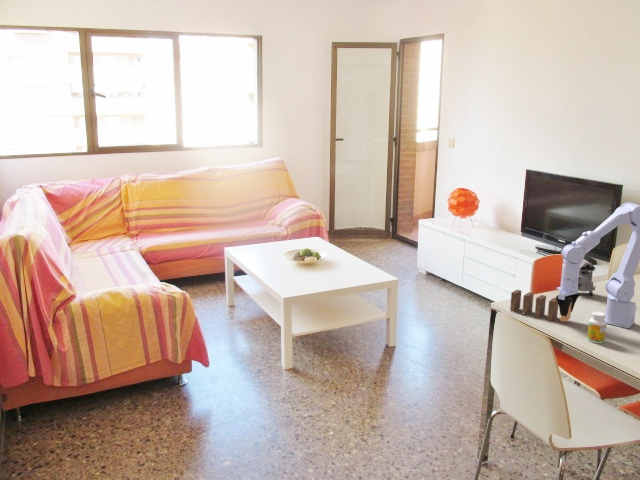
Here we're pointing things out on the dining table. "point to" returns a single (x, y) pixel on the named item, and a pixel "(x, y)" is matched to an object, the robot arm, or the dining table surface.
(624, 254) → the robot arm
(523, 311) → the tile
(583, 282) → the figurine
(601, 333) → the supplement bottle
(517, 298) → the tile
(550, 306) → the tile
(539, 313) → the tile
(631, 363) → the dining table surface
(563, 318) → the orange tile
